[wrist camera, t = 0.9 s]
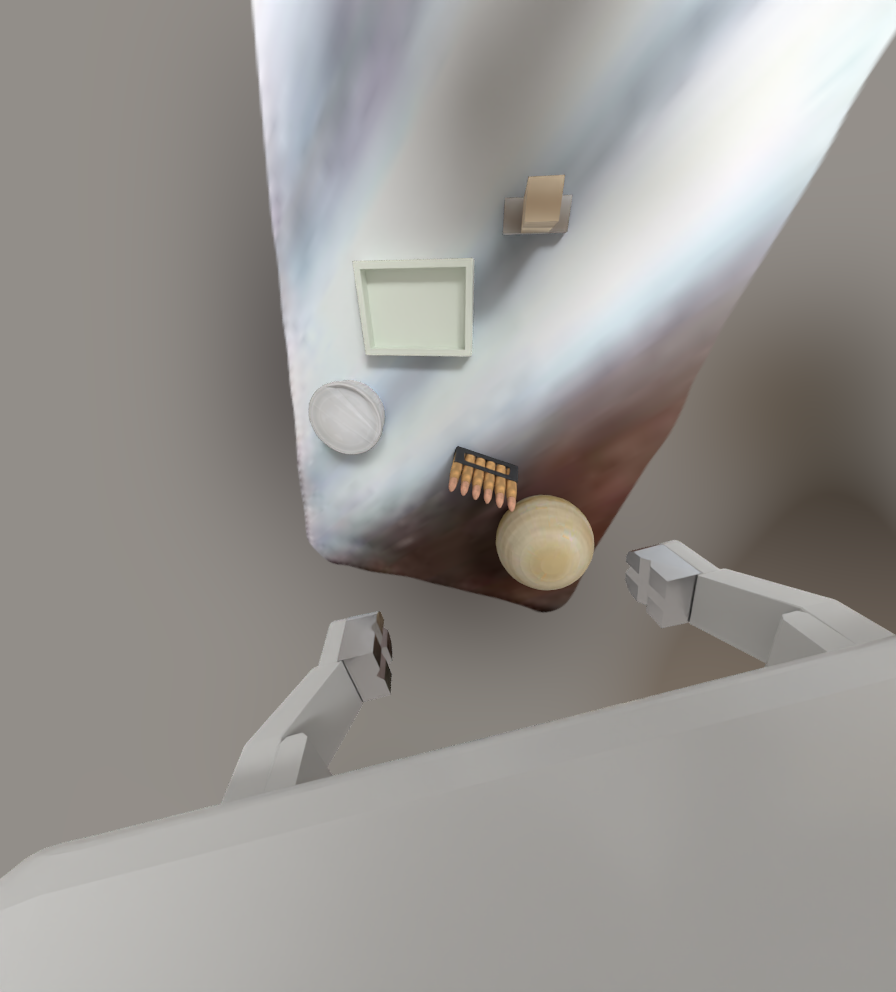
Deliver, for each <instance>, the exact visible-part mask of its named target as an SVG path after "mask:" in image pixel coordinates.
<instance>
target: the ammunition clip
mask: <svg viewBox="0 0 896 992" xmlns="http://www.w3.org/2000/svg"><path fill="white" fill-rule="evenodd" d="M463 464H464V466H463ZM462 468H463V470H462ZM473 470H474V473H473ZM484 471H485V472H484ZM461 474H462V475H461ZM460 476H461V494H462V496H464V495H466V493H467V491H468V489H469V485H470V483H471V481H472V485H473V486H472V495H473V498H474V500H476V499H477V498H478V497H479V495H480V491H481V487H482V485H483V488H484V500H485V502H486V504H488V503H489V502H490V501H491V498H492V493H493V489H494V485H495V496H496V504H497V506H498V507H499V508H501V506H502V505H503V502H504V494H505V491H506V497H507V503H508V508H509V510H510V511H511V512H513V511H514V509H515V505H516V496H517V482H518V466H515V465H512V464H509V463H506V462H503V461H500V460H497V459H494V458H491V457H488V456H486V455H483V454H480V453H477V452H474V451H471V450H468V449H465V448H462V447H459V446H458V447H457V448H456V451H455V454H454V458H453V463H452V468H451V471H450V480H449V490H450V492H452V491H454V489H455V488H456V486H457V483H458V480H459V478H460ZM472 478H473V479H472ZM483 481H484V482H483Z"/></svg>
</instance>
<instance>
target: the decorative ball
mask: <svg viewBox="0 0 896 992" xmlns="http://www.w3.org/2000/svg"><path fill="white" fill-rule="evenodd" d="M496 547H497V552H498V556H499V558H500V561H501V563H502V565H503V566H504V568H505V569H506V570H507V572H508V573H509V574H510V575H511V576H512V577H513V578H514V579H516V580H517V581H519V582H520V583H522V584H524V585H526V586H529V587H531V588H535V589H539V590H555V589H559V588H563V587H565V586H568V585H570V584H572V583H573V582H575V581H576V580H577V579H579V578H580V577H581V576H582V575H583V573H584V572H585V571H586V569H587V568H588V566H589V564H590V562H591V560H592V557H593V551H594V536H593V533H592V529H591V527H590V524H589V522H588V521H587V519H586V517H585V516H584V515H583V513H582V512H581V511H580V510H579V509H578V508H577V507H575V506H574V505H573V504H571V503H570V502H568V501H566V500H564V499H562V498H559V497H555V496H550V495H536V496H531V497H527V498H524V499H522V500H520V501H519V502H517V503H516V505H515V509H514V511H513V512H511V511H510V510H508V511H507V512H506V513H505V514H504V515H503V517H502V519H501V521H500V523H499V526H498V529H497V534H496Z"/></svg>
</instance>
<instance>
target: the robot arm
mask: <svg viewBox="0 0 896 992" xmlns="http://www.w3.org/2000/svg"><path fill="white" fill-rule="evenodd" d="M626 562H627V563H628V564H629V565H630V567H629V569H628V570H627V571H626V578H625V579H626V584H627V587H628V590H629V591H630V593H631V595H632V596H633V597H634V598H635V600H636V601H637V602H640V603H642V604H645V605H647V613H648V614H649V615H650V616H651V617H652V618H653V619H654V620H655V621H656V623H657V624H658V625H659V626H660V627H661V628H664V627H669V626H674V625H679V624H683V623H688V622H690V624H691V625H693V626H695V627H697V628H699V629H701V630H703V631H705V632H707V633H709V634H711V635H713V636H715V637H717V638H718V639H720V640H722V641H724V642H726V643H728V644H730V645H732V646H734V647H736V648H738V649H740V650H741V651H743V652H746V653H747V654H749V655H751V656H753V657H755V658H757V659H759V660H761V661H763V662H765V663H766V665H765V668H761V669H757V670H753V671H749V672H745V673H741V674H737V675H733V676H729V677H725V678H721V679H717V680H713V681H709V682H705V683H701V684H697V685H693V686H689V687H685V688H681V689H677V690H673V691H669V692H665V693H662V694H658V695H654V696H649V697H646V698H642V699H638V700H634V701H629V702H626V703H622V704H618V705H614V706H610V707H606V708H602V709H598V710H594V711H590V712H586V713H582V714H578V715H574V716H570V717H566V718H562V719H558V720H554V721H550V722H546V723H542V724H538V725H534V726H530V727H526V728H521V729H518V730H514V731H510V732H506V733H501V734H498V735H493V736H489V737H486V738H482V739H477V740H473V741H470V742H465V743H461V744H458V745H453V746H449V747H446V748H441V749H438V750H434V751H430V752H426V753H422V754H418V755H414V756H410V757H406V758H402V759H398V760H394V761H390V762H386V763H382V764H378V765H374V766H370V767H366V768H362V769H358V770H354V771H350V772H346V773H342V774H338V775H334V776H333V775H332V774H331V772H330V770H329V769H328V766H329V764H330V762H331V760H332V758H333V757H334V755H335V753H336V751H337V749H338V748H339V746H340V744H341V742H342V741H343V739H344V737H345V735H346V733H347V732H348V730H349V728H350V726H351V725H352V723H353V721H354V719H355V717H356V716H357V714H358V712H359V710H360V708H361V707H362V705H363V703H362V702H365V701H369V700H373V699H376V698H380V697H384V696H387V695H390V694H391V677H392V673H391V671H390V668H389V665H390V663H391V662H392V643H391V639H390V635H389V632H388V630H387V629H385V628H384V627H383V624H384V619H383V617H382V614H381V612H379V611H377V612H373V613H368V614H363V615H359V616H354V617H349V618H346V619H342V620H336V621H333V622H332V623H331V624H330V625H329V629H328V632H327V637H326V639H325V643H324V647H323V650H322V654H321V658H320V661H319V665H318V667H315V668H313V669H312V670H311V671H310V672H309V673H308V674H307V675H306V677H305V678H304V679H303V680H302V681H301V682H300V683H299V684H298V686H297V687H296V688H295V689H294V690H293V691H292V692H291V693H290V695H289V696H288V697H287V698H286V699H285V700H284V701H283V702H282V704H281V705H280V706H279V707H278V708H277V709H276V711H275V712H274V713H273V714H272V715H271V716H270V717H269V718H268V719H267V721H266V722H265V723H264V724H263V725H262V726H261V727H260V729H259V730H258V731H257V732H256V733H255V734H254V735H253V736H252V738H251V739H250V740H249V741H248V742H247V743H246V744H245V746H244V748H243V751H242V753H241V755H240V758H239V760H238V763H237V765H236V768H235V770H234V773H233V775H232V778H231V780H230V783H229V785H228V787H227V790H226V792H225V795H224V797H223V800H222V802H221V804H218V805H214V806H210V807H206V808H202V809H198V810H194V811H190V812H186V813H182V814H178V815H174V816H170V817H166V818H162V819H158V820H154V821H150V822H146V823H142V824H138V825H134V826H130V827H126V828H122V829H118V830H114V831H110V832H106V833H103V834H98V835H94V836H90V837H85V838H81V839H77V840H72V841H68V842H64V843H60V844H57V845H54V846H50V847H47V848H45V849H42V850H40V851H38V852H36V853H34V854H33V855H31V856H29V857H28V858H26V859H25V860H23V861H22V862H21V863H19V864H18V865H17V866H16V867H14V868H13V869H12V870H11V871H10V872H8V873H7V874H6V875H4V876H3V877H2V878H1V879H0V992H896V635H895V634H893V633H891V632H889V631H888V630H886V629H884V628H883V627H881V626H879V625H878V624H876V623H874V622H872V621H871V620H869V619H867V618H866V617H864V616H862V615H861V614H859V613H857V612H855V611H854V610H852V609H850V608H849V607H847V606H845V605H844V604H842V603H840V602H838V601H837V600H834V599H830V598H827V597H823V596H820V595H816V594H813V593H809V592H806V591H802V590H799V589H795V588H792V587H788V586H785V585H781V584H778V583H774V582H771V581H767V580H764V579H760V578H757V577H753V576H750V575H746V574H743V573H739V572H735V571H732V570H728V569H718V568H717V567H715V566H714V565H713V564H711V563H710V562H708V561H707V560H705V559H704V558H703V557H701V556H700V555H698V554H697V553H695V552H694V551H693V550H691V549H690V548H688V547H687V546H686V545H684V544H683V543H681V542H680V541H677V540H671V541H668V542H664V543H660V544H658V545H653V546H649V547H645V548H641V549H637V550H632V551H629V552H628V554H627V556H626Z"/></svg>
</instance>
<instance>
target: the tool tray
mask: <svg viewBox="0 0 896 992" xmlns="http://www.w3.org/2000/svg"><path fill="white" fill-rule="evenodd" d="M352 262H353V269H354V276H355V283H356V290H357V297H358V304H359V311H360V318H361V325H362V332H363V339H364V345H365V352H366V355H396V356H471V355H472V348H473V308H474V267H475V259H474V258H455V259H416V260H377V261H352Z"/></svg>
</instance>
